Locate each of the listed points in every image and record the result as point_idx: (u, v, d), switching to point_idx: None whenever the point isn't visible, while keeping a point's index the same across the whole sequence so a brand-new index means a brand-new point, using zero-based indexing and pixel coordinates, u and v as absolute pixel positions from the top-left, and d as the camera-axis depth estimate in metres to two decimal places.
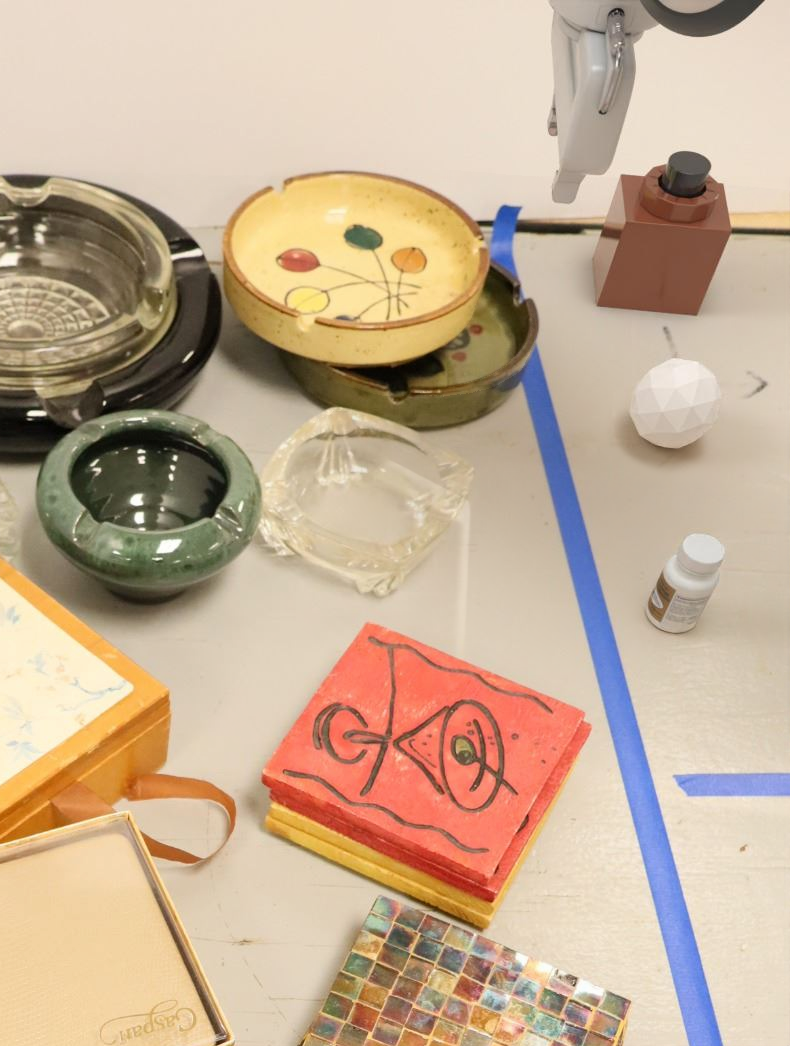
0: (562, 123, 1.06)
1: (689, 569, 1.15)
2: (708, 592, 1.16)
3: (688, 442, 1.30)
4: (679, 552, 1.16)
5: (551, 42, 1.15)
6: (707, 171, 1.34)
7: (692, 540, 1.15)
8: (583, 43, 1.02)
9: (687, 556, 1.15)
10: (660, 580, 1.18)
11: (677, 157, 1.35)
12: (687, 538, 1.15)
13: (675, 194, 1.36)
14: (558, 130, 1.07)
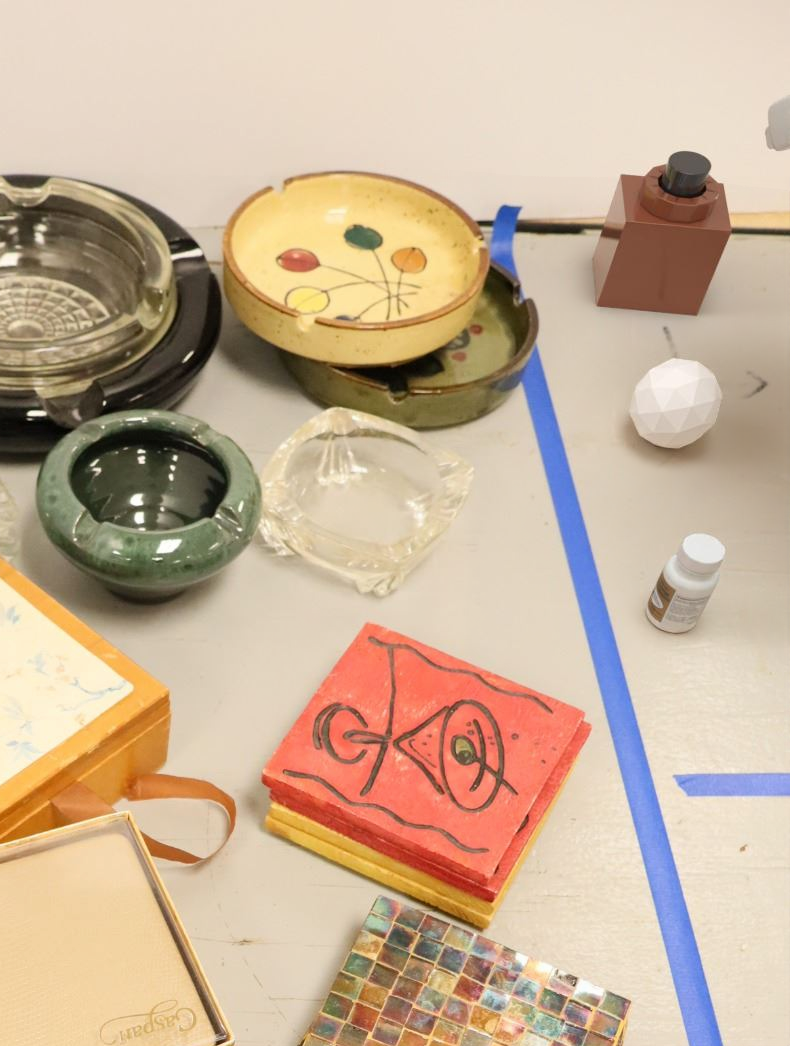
0: None
1: (689, 569, 1.15)
2: (708, 592, 1.16)
3: (688, 442, 1.30)
4: (679, 552, 1.16)
5: None
6: (707, 171, 1.34)
7: (692, 540, 1.15)
8: None
9: (687, 556, 1.15)
10: (660, 580, 1.18)
11: (677, 157, 1.35)
12: (687, 538, 1.15)
13: (675, 194, 1.36)
14: None
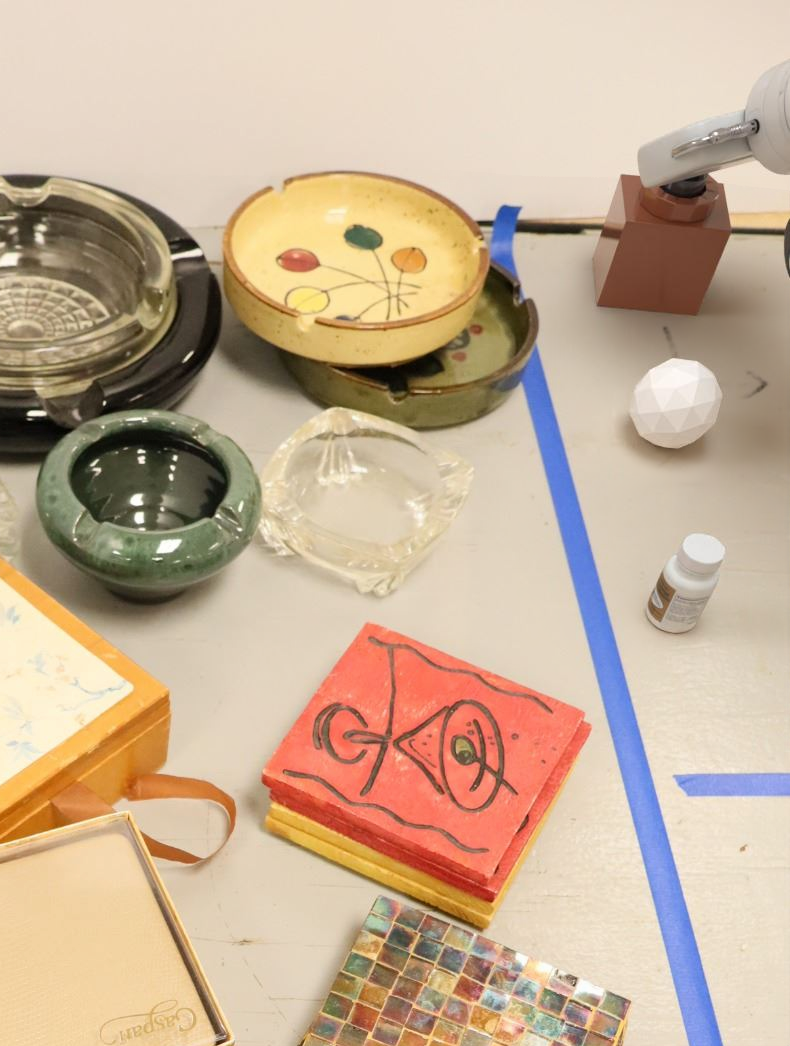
0: None
1: (689, 569, 1.15)
2: (708, 592, 1.16)
3: (688, 442, 1.30)
4: (679, 552, 1.16)
5: None
6: (704, 178, 1.35)
7: (692, 540, 1.15)
8: (732, 112, 1.22)
9: (687, 556, 1.15)
10: (660, 580, 1.18)
11: None
12: (687, 538, 1.15)
13: None
14: None
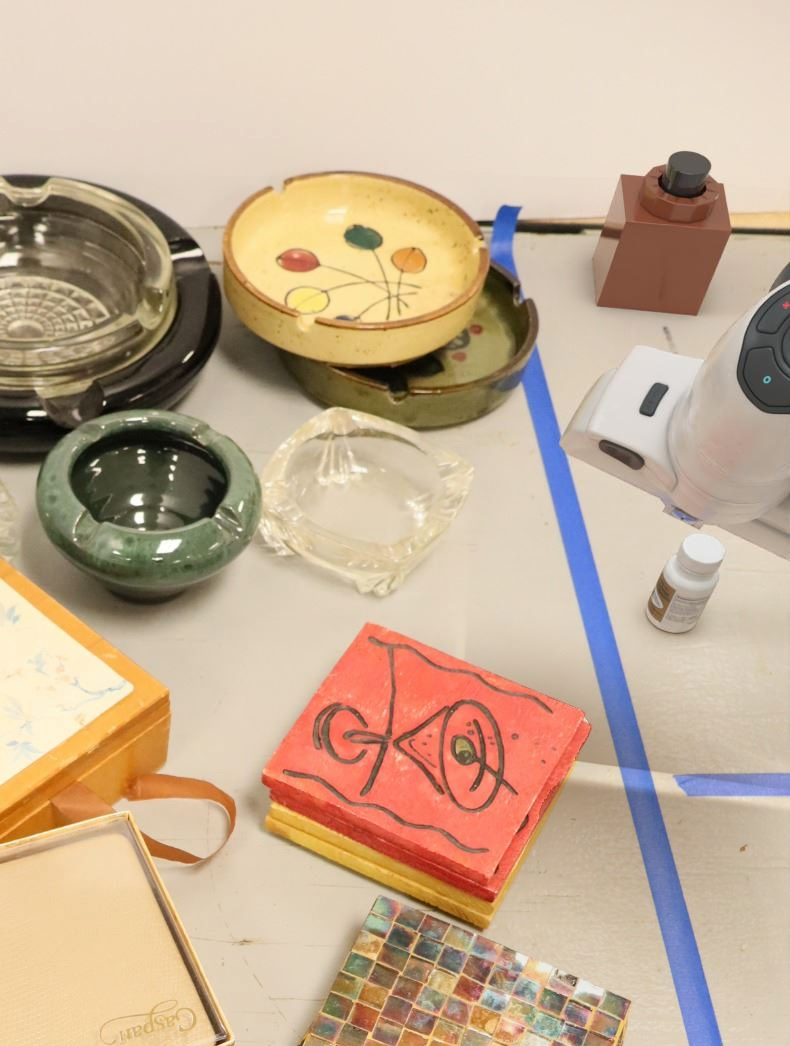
0: (775, 547, 0.95)
1: (689, 569, 1.15)
2: (708, 592, 1.16)
3: None
4: (679, 552, 1.16)
5: (577, 458, 0.99)
6: (707, 171, 1.34)
7: (692, 540, 1.15)
8: (782, 516, 0.90)
9: (687, 556, 1.15)
10: (660, 580, 1.18)
11: (677, 157, 1.35)
12: (687, 538, 1.15)
13: (675, 194, 1.36)
14: (762, 546, 0.96)
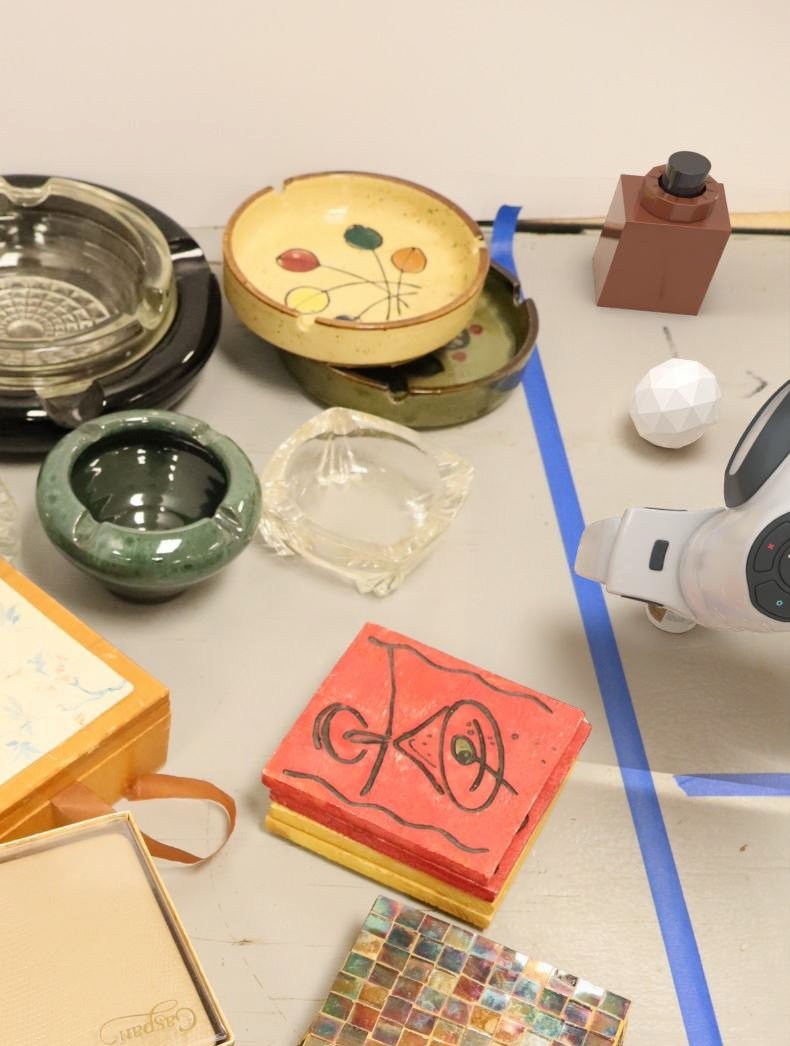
0: None
1: None
2: None
3: (688, 442, 1.30)
4: None
5: None
6: (707, 171, 1.34)
7: None
8: None
9: None
10: None
11: (677, 157, 1.35)
12: None
13: (675, 194, 1.36)
14: None
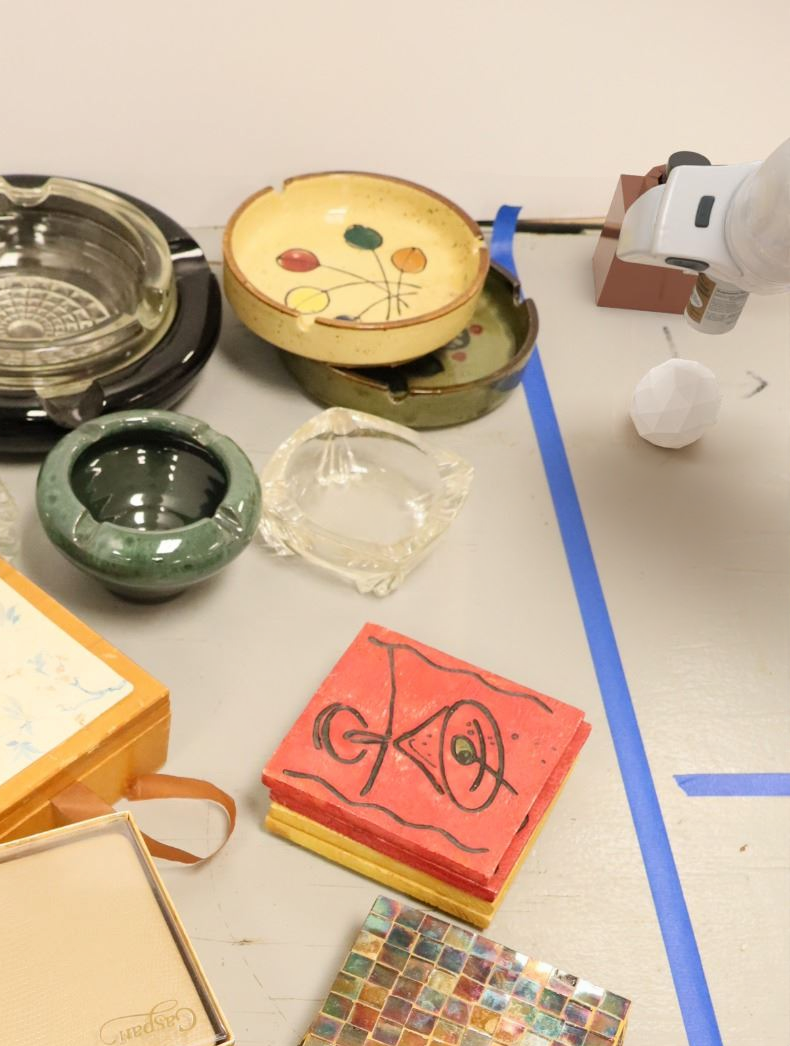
0: None
1: None
2: None
3: (688, 442, 1.30)
4: None
5: (634, 262, 1.15)
6: None
7: None
8: None
9: None
10: (700, 277, 1.19)
11: (677, 157, 1.35)
12: None
13: None
14: None
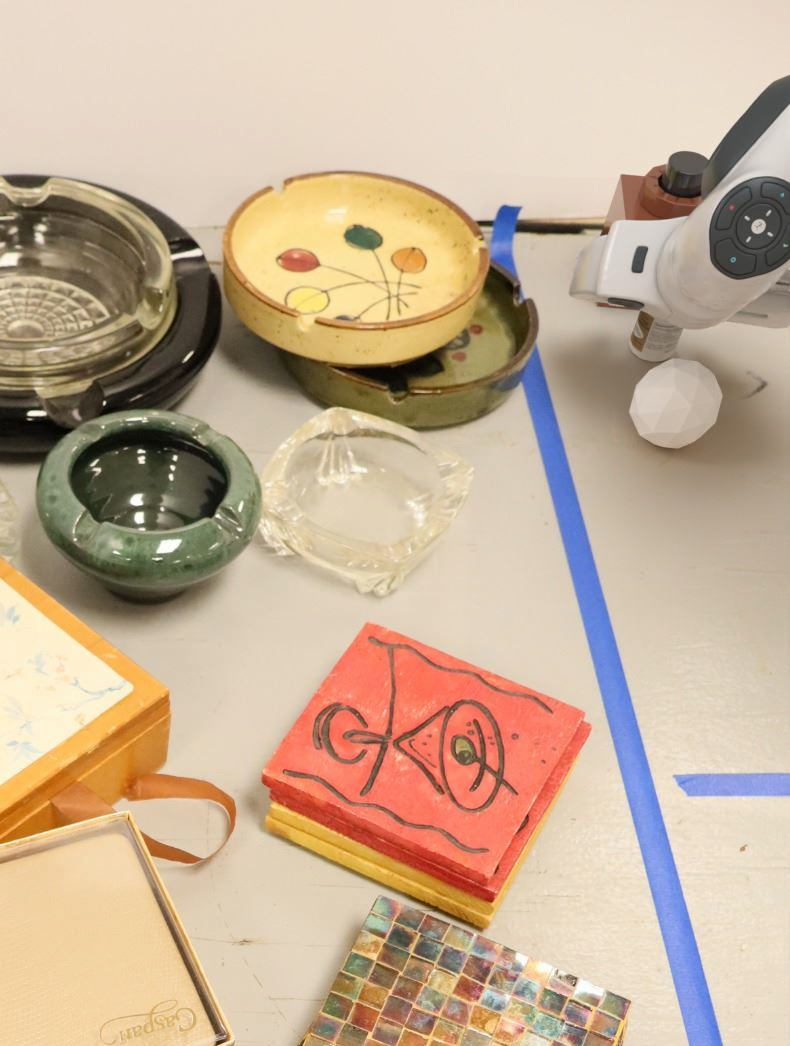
0: (744, 321, 1.31)
1: None
2: None
3: (688, 442, 1.30)
4: None
5: (584, 299, 1.33)
6: None
7: None
8: (747, 307, 1.26)
9: None
10: (641, 312, 1.37)
11: (677, 157, 1.35)
12: None
13: (675, 194, 1.36)
14: (734, 322, 1.32)
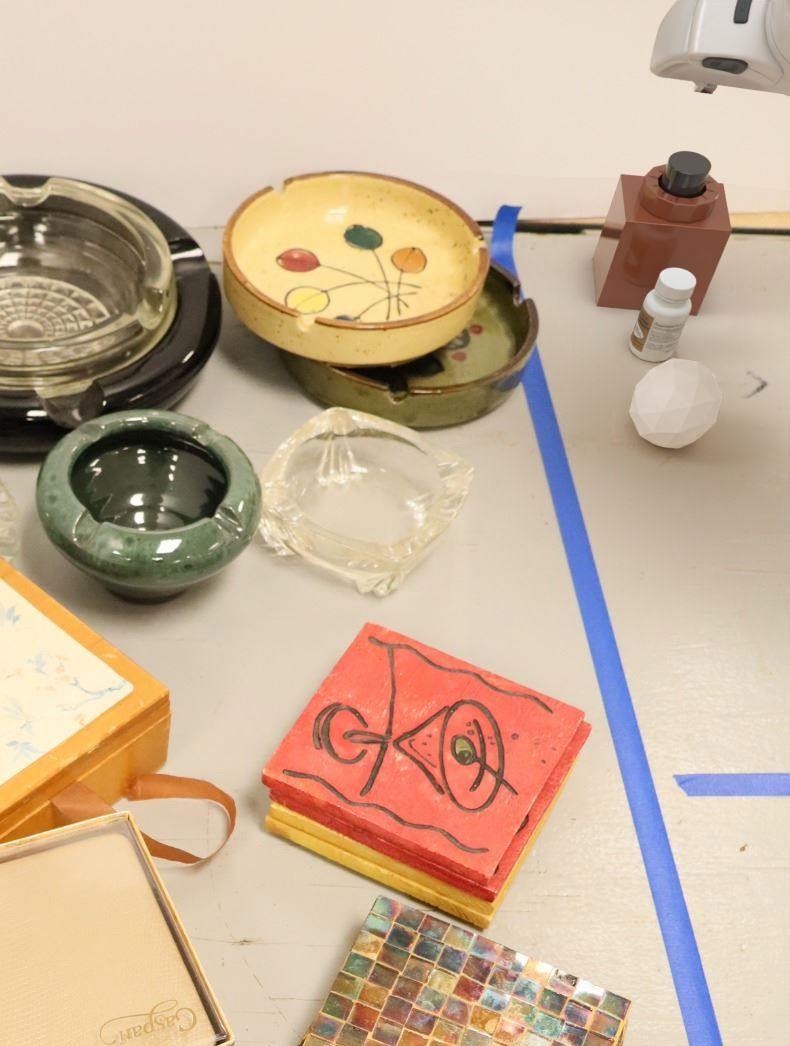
0: None
1: (665, 297, 1.34)
2: (681, 319, 1.36)
3: (688, 442, 1.30)
4: (657, 283, 1.35)
5: (667, 77, 1.11)
6: (707, 171, 1.34)
7: (668, 272, 1.34)
8: None
9: (663, 285, 1.34)
10: (641, 312, 1.37)
11: (677, 157, 1.35)
12: (664, 271, 1.35)
13: (675, 194, 1.36)
14: None
